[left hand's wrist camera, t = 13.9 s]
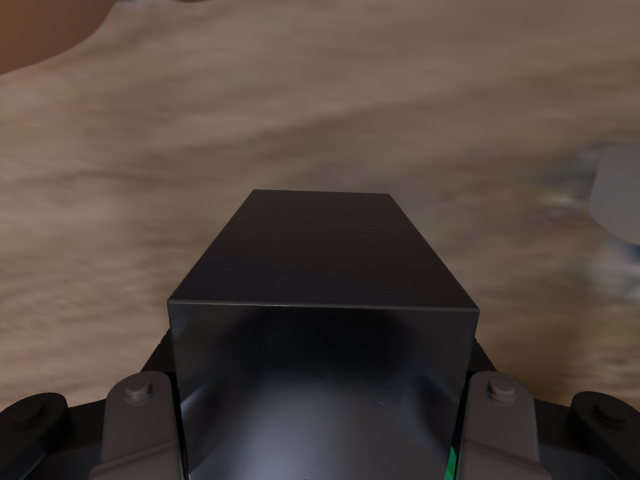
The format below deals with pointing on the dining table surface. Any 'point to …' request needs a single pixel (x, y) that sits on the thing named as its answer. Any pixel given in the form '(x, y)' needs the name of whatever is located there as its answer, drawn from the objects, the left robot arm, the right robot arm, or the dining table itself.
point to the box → (320, 344)
